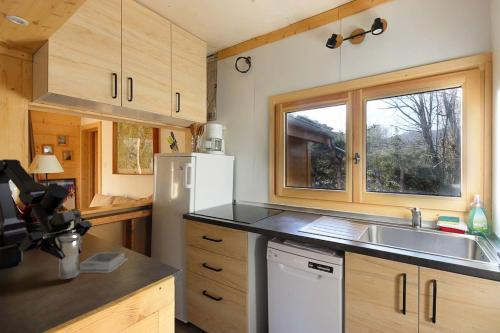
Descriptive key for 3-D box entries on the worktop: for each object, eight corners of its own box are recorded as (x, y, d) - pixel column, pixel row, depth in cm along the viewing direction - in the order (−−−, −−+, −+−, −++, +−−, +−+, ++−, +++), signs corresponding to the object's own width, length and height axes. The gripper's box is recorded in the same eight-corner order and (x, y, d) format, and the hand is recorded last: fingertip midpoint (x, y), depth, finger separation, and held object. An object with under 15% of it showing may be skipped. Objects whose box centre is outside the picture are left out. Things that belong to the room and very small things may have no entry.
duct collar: (75, 272, 84) (75, 264, 84) (97, 258, 96) (97, 251, 96) (110, 272, 84) (110, 264, 84) (127, 258, 96) (127, 251, 96)
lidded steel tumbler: (56, 281, 74) (56, 238, 74) (58, 274, 79) (57, 234, 79) (80, 276, 78) (79, 235, 78) (80, 269, 82) (79, 231, 82)
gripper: (25, 206, 71) (50, 249, 67) (88, 198, 88) (111, 231, 85) (9, 231, 74) (33, 273, 70) (73, 218, 91) (94, 251, 87)
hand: (71, 255), depth 78 cm, fingers closed on lidded steel tumbler, 5 cm apart
